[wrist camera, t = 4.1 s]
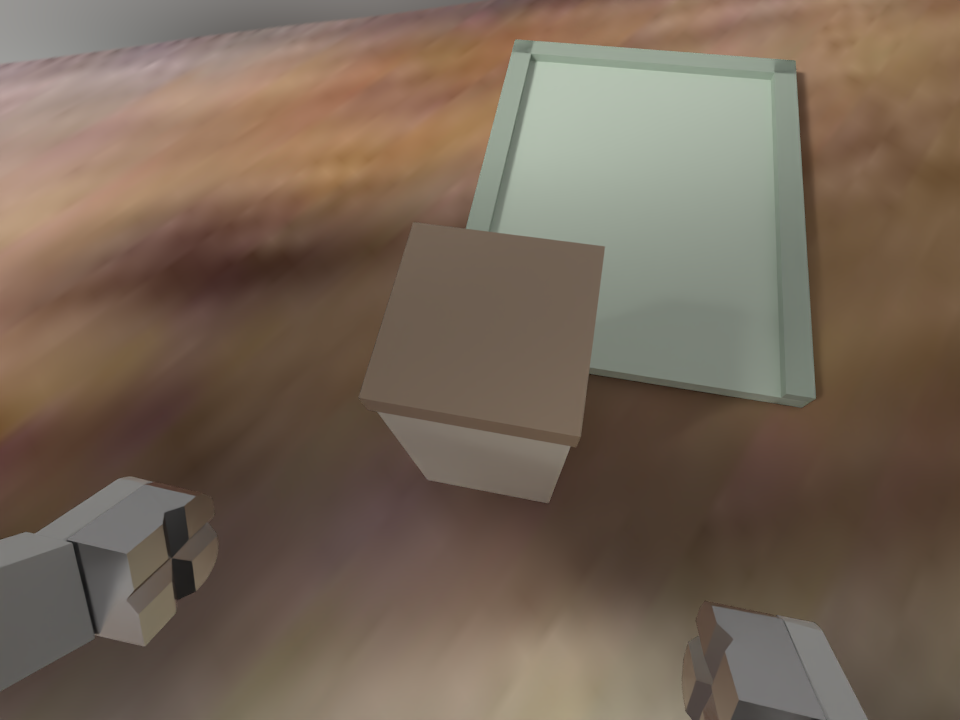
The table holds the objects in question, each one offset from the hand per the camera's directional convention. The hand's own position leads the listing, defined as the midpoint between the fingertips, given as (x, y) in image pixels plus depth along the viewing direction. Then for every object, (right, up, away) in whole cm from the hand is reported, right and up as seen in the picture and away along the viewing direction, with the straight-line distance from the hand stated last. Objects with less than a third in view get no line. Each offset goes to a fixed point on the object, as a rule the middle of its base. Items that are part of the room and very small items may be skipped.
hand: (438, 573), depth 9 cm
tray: (+8, +11, +15) cm, 20 cm away
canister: (+1, +1, +11) cm, 11 cm away
